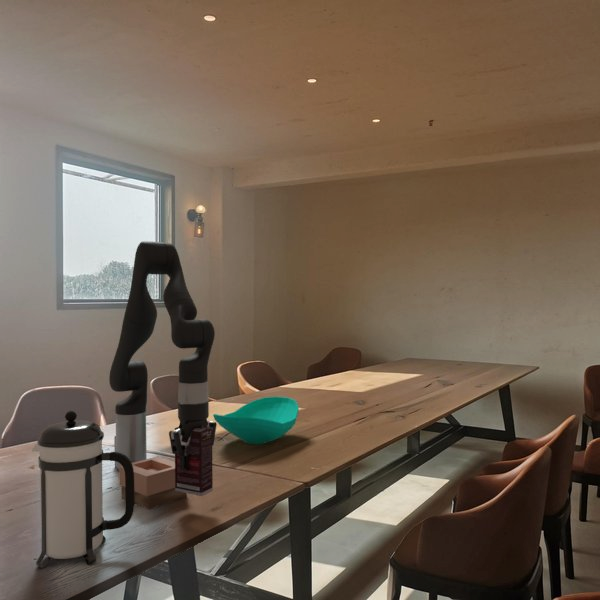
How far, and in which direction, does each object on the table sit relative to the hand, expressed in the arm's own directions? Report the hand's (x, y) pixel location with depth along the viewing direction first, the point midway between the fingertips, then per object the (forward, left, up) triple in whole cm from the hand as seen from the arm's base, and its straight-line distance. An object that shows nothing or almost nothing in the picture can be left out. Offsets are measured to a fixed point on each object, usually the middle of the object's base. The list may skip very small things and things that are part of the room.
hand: (193, 467), depth 140 cm
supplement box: (0, 0, -6) cm, 6 cm away
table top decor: (-31, +59, -11) cm, 68 cm away
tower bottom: (-16, 0, -11) cm, 19 cm away
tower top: (-16, -1, -7) cm, 17 cm away
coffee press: (-2, -30, -11) cm, 32 cm away
